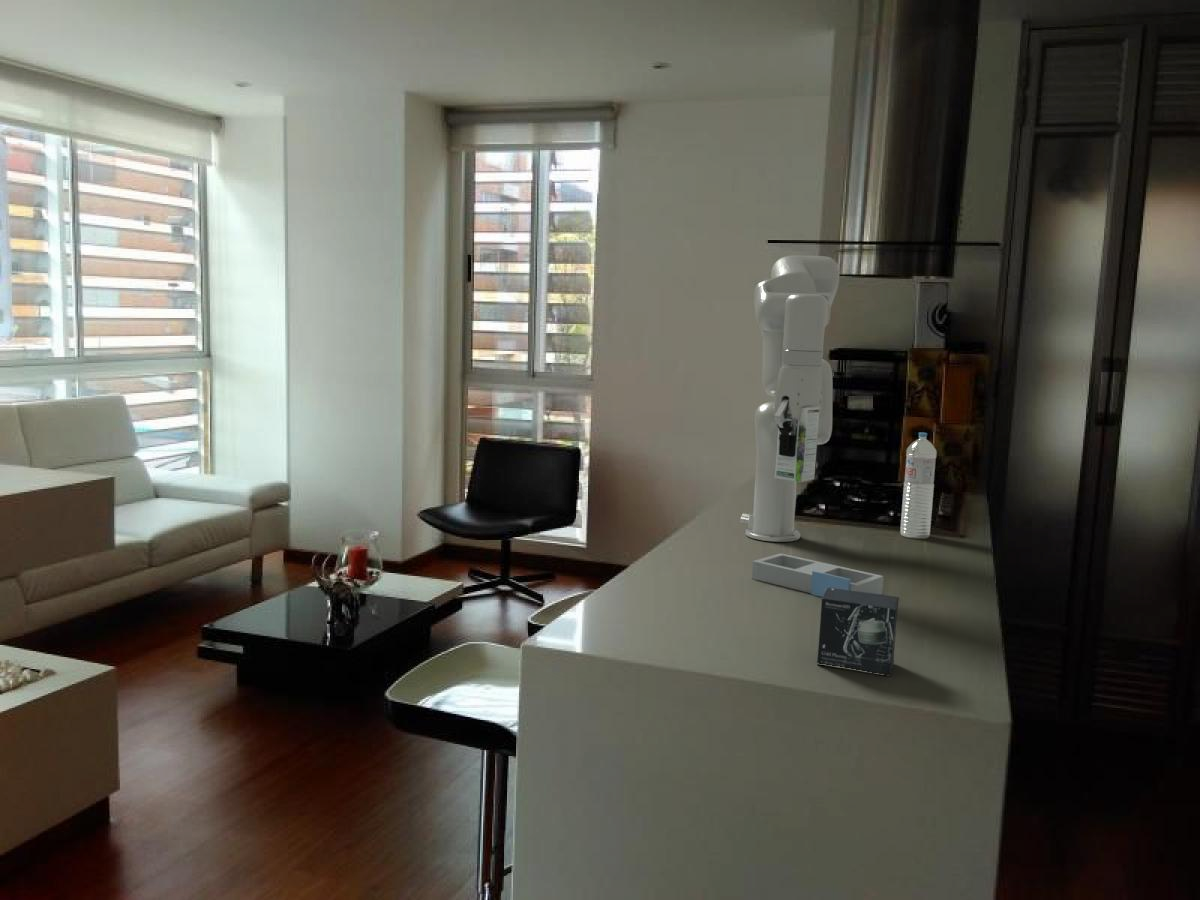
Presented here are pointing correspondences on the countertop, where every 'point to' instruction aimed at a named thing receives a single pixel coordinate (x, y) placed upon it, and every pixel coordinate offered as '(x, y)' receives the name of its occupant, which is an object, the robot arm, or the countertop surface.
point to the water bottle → (918, 489)
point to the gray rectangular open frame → (813, 575)
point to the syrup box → (800, 449)
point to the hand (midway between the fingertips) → (796, 453)
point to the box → (858, 630)
